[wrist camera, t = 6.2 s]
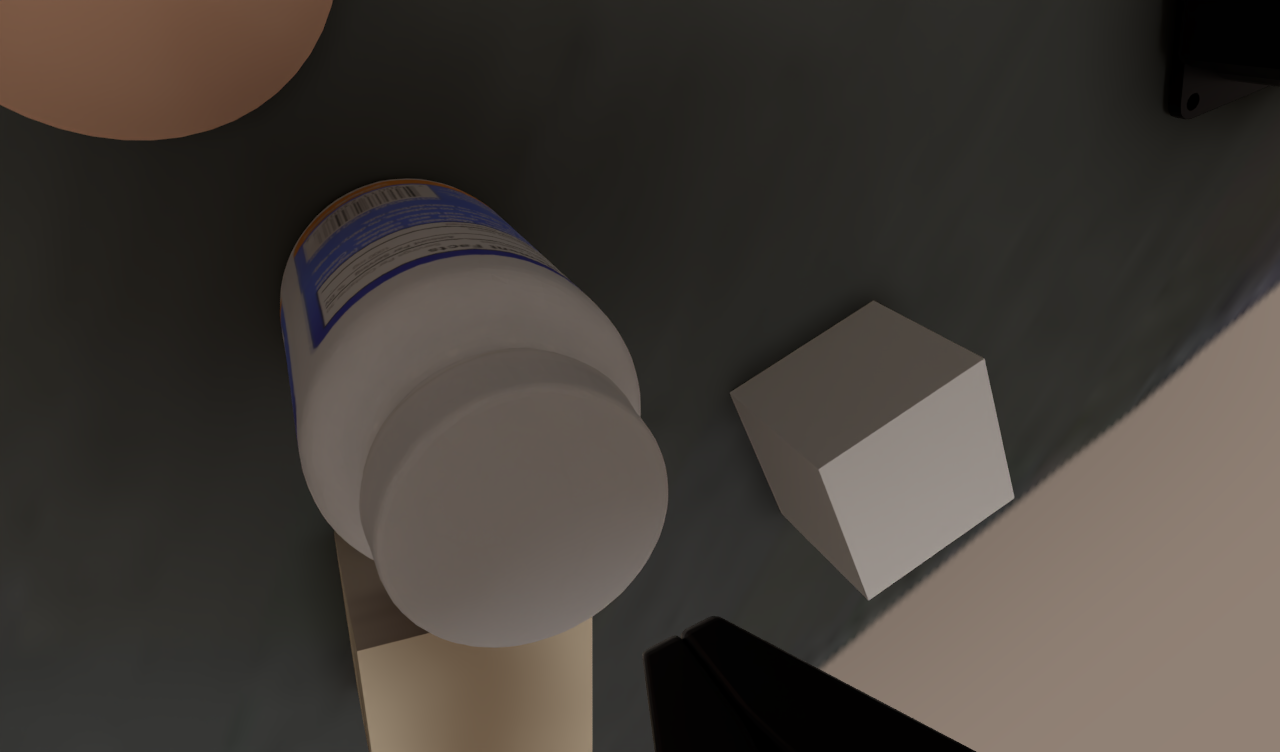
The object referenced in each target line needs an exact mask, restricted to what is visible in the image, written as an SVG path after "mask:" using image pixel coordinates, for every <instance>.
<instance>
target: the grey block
mask: <svg viewBox="0 0 1280 752" xmlns="http://www.w3.org/2000/svg"><path fill="white" fill-rule="evenodd" d="M730 396H731V398H732V400H733V403H734V405H735V407H736V410H737V412H738V414H739V417H740V419H741V421H742V423H743V426H744V428H745V430H746V433H747V435H748V437H749V440H750V442H751V444H752V447H753V449H754V451H755V454H756V456H757V458H758V461H759V463H760V465H761V467H762V470H763V472H764V474H765V477H766V479H767V481H768V484H769V486H770V488H771V491H772V493H773V495H774V498H775V500H776V502H777V505H778V507H779V509H780V511H781V514H782V515H783V516H784V517H785V518H786V519H787V520H788V521H789V522H790V523H791V524H792V525H793V526H794V527H795V528H796V529H797V530H798V531H799V532H800V533H801V534H802V535H803V536H804V537H805V538H806V539H807V540H808V541H809V542H810V543H811V544H812V545H813V546H814V547H815V548H816V549H817V550H818V551H819V552H820V553H822V554H823V555H824V556H825V557H826V558H827V559H828V560H829V561H830V562H831V563H832V564H833V565H834V566H835V567H836V568H837V569H838V570H839V571H840V572H841V573H842V574H843V575H844V576H845V577H846V578H847V579H848V580H849V581H850V582H851V583H852V584H853V585H854V586H855V587H856V588H857V589H858V590H859V591H860V592H861V593H862V594H863V595H864V596H865V597H866V598H867V599H868V600H870V599H871V598H873V597H874V596H876V595H877V594H879V593H880V592H881V591H883V590H884V589H886V588H887V587H889V586H890V585H891V584H893V583H894V582H896V581H897V580H899V579H900V578H901V577H903V576H904V575H906V574H907V573H908V572H910V571H911V570H913V569H914V568H916V567H917V566H918V565H920V564H921V563H923V562H924V561H926V560H927V559H928V558H930V557H931V556H933V555H934V554H936V553H937V552H938V551H940V550H941V549H943V548H944V547H945V546H947V545H948V544H950V543H951V542H953V541H954V540H955V539H957V538H958V537H960V536H961V535H963V534H964V533H965V532H967V531H968V530H970V529H971V528H973V527H974V526H975V525H977V524H978V523H980V522H981V521H982V520H984V519H985V518H987V517H988V516H990V515H991V514H992V513H994V512H995V511H997V510H998V509H1000V508H1001V507H1002V506H1004V505H1005V504H1007V503H1008V502H1009V501H1011V500H1012V499H1014V494H1013V489H1012V485H1011V480H1010V475H1009V471H1008V466H1007V461H1006V457H1005V452H1004V447H1003V443H1002V438H1001V433H1000V429H999V424H998V420H997V415H996V410H995V406H994V401H993V396H992V392H991V387H990V382H989V378H988V373H987V368H986V364H985V359H984V358H982V357H980V356H978V355H977V354H975V353H973V352H971V351H969V350H967V349H965V348H963V347H961V346H959V345H957V344H956V343H954V342H952V341H950V340H948V339H946V338H944V337H942V336H940V335H938V334H937V333H935V332H933V331H931V330H929V329H927V328H925V327H923V326H921V325H919V324H917V323H916V322H914V321H912V320H910V319H908V318H906V317H904V316H902V315H900V314H898V313H896V312H895V311H893V310H891V309H889V308H887V307H885V306H883V305H881V304H879V303H877V302H875V301H874V300H873V301H872V302H870V303H869V304H867V305H866V306H864V307H862V308H861V309H859V310H858V311H856V312H855V313H853V314H851V315H850V316H848V317H847V318H845V319H844V320H842V321H841V322H839V323H837V324H836V325H834V326H833V327H831V328H830V329H828V330H826V331H825V332H823V333H822V334H820V335H819V336H817V337H816V338H814V339H812V340H811V341H809V342H808V343H806V344H805V345H803V346H802V347H800V348H798V349H797V350H795V351H794V352H792V353H791V354H789V355H787V356H786V357H784V358H783V359H781V360H780V361H778V362H777V363H775V364H773V365H772V366H770V367H769V368H767V369H766V370H764V371H762V372H761V373H759V374H758V375H756V376H755V377H753V378H752V379H750V380H748V381H747V382H745V383H744V384H742V385H741V386H739V387H738V388H736V389H734V390H733V391H731V392H730Z"/></svg>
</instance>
